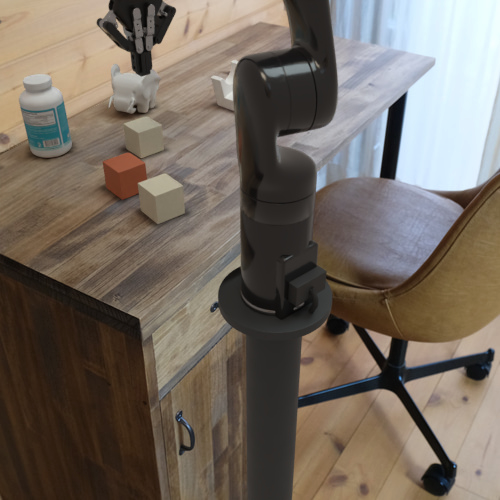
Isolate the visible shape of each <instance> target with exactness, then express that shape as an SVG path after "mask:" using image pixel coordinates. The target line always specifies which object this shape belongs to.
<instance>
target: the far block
mask: <svg viewBox="0 0 500 500" xmlns="http://www.w3.org/2000/svg"><path fill="white" fill-rule="evenodd" d="M122 126H123V127H122V128H123V133H124V141H125V148H126V150H128V152H129V153H131V154H133V155H134V156H136V157H137V158H139V159H143V158H146V157H150V156H152V155H155V154H157V153H160V152H163V151H165V145H164V143H165V142H164V134H163V133H164V132H163V125H162V124H161V123H160V122H158V121H157V120H154V119H152V118H150V117H149V116H147V115H146V116H143V117H140V118H136V119H134V120H130V121H127V122H124V123H123V124H122Z"/></svg>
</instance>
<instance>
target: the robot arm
mask: <svg viewBox="0 0 500 500" xmlns="http://www.w3.org/2000/svg"><path fill="white" fill-rule="evenodd" d="M282 3H283V6H284V9H285V13H286V17H287V22H288V28H289V35H290V47H288V48H281V49H280V48H279V49H274V50H269V51H268V50H267V51H260V52H256V53H251V54H245V55H244V56H242V57H241V58H239V60H237V61H238V63H237V65H236V68H235V71H234V76H233V103H234V111H233V114H234V126H235V143H236V144H235V146H236V147H235V148H236V149H235V150H236V159H237V165H238V173H239V231H240V232H239V236H240V238H239V239H240V242H239V243H240V266H241V288H240V294H241V298H242V301H243V302H244V304H245V305H246V306H247V307H248V308H250V309H251V310H253V311H255V312H257V313H260V314H263V315H268V316H275V317H277V318H279V319H280V320H283V319H285V318H287V317H288V316H290V315H292V314H293V313H295V312H297V311H299V310H300V309H302V308H303V307H305V306H307V305H308V304H310V303H312V302H313V303H312V305H311V307H310V308H309V310H308V311H309V313H314V311H315V310H316V309H317V307H318V296H317V293H319V292H321V291H322V290H324V289H325V285H326V281H327V270H326V269H324V268H323V267H321V266H319V265H318V257H319V243H318V242H317V241H316V240H314V228H315V227H314V226H315V225H314V224H315V211H316V197H317V196H316V195H317V183H318V181H317V180H318V167H317V165H316V162H315V160H313V158H312V157H311V156H310V155H309V154H306V152H303V151H301V150H299V149H296V148H293V147H290V146H284V145H279V144H278V143H277V140H278V138H281V137H287V136H293V135H296V134H303V133H306V132H311V131H315V130H320V129H323V128H325V127H327V126H329V124H330V123H331V122H332V121H333V120H334V118H335V115H336V113H337V108H338V101H339V75H338V65H337V55H336V54H337V53H336V47H335V38H334V29H333V19H332V11H331V1H330V0H282ZM176 14H177V8H176V7H175V6H173V5H171V4H168V3H166V2H165V1H164V0H109V1H108V12H107V13H106V15H105V16H104V17H98V18H97V19H96V26H97V27H98V28H99V29H100V30H101V31H102V32H103V33H104V34H105V35H106V36H107V37H108V38H109V39H110V40H111V41H112V42H113V43H114V44H115V45H116V46H117V48H119V49H121V50H123V51H126V52H128V53H129V54H130V62H131V69H132V72H133V73H134V74H138V75H139V76H141V77H142V76H145V75H149V74H150V73H151V72H150V70H152V69H153V58H152V50H153V47H154V46H156V45H160V44H161V43H162V42H163V40H164V38H165V36H166V34H167V32H168V30H169V28H170V26H171V24H172V21H173V19H174V17H175V15H176ZM118 23H119V24H120V25H121V26H122V31H123V34H122V32H121V31H119V29H118V28H119V24H118ZM124 35H125V36H124Z"/></svg>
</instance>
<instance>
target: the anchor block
mask: <svg viewBox="0 0 500 500" xmlns="http://www.w3.org/2000/svg"><path fill="white" fill-rule="evenodd" d="M102 168H103V175H104V180H105V187H106V188H105V189H107V190H108V191H110V192H111V193H112V194H114V195H115V196H116V197H118V198H119V199H121V201H123V200H125V199H128V198H131V197H134V196H136V195H139V190H138V183H139V182H142V181H145V180H148V176H147V175H148V174H147V164H146V162H144V161H143V160H142V159H141V158H140V157H138V156H137V155H135V154H133V153H132V152H130V151H128V152H125V153H122V154H119V155H117V156H114V157H111V158H108V159H105V160H102Z"/></svg>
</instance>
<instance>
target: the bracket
mask: <svg viewBox="0 0 500 500" xmlns="http://www.w3.org/2000/svg"><path fill="white" fill-rule="evenodd" d="M238 61H239V60H237V59H232V61H230V70H229V73H228V76H227V77H226V78H225V79H224V78H223V77H221V76H218V75H216V74H215V75H212V76H210V79H211V84H212V88H213V93H214V96H215V100H216V103H217V104H216V105H217V106H219V107H221V108H224V109H227V110H230V111H233V112H234V103H233V76H234V71H235V68H236V65H237V63H238Z"/></svg>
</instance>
